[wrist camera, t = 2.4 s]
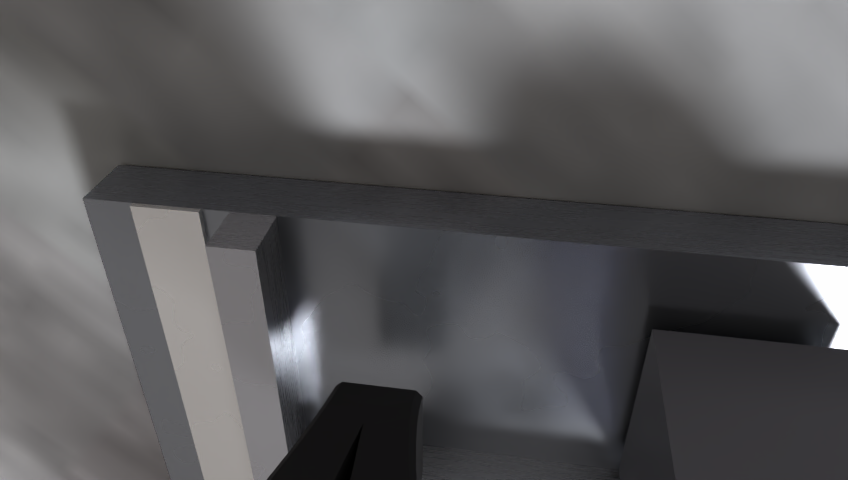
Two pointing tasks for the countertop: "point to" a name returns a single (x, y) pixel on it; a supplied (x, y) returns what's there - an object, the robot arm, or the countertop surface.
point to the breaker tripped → (738, 411)
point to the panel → (431, 312)
